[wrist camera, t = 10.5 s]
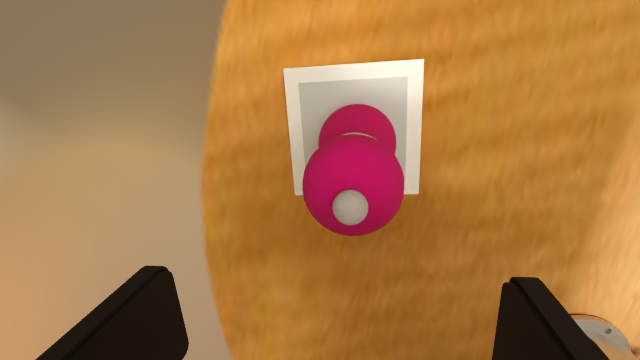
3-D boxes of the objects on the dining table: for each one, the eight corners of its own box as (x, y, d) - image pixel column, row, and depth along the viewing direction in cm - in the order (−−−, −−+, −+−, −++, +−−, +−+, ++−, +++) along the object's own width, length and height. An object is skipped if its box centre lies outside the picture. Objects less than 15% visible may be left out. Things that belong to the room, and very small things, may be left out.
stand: (419, 60, 33) (424, 58, 31) (414, 184, 38) (418, 194, 35) (289, 68, 36) (282, 68, 33) (299, 186, 40) (294, 195, 37)
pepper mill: (310, 127, 34) (245, 195, 15) (366, 85, 32) (370, 105, 13) (349, 179, 35) (332, 301, 17) (405, 142, 33) (459, 235, 15)
